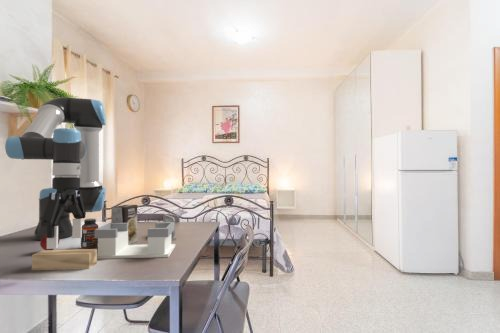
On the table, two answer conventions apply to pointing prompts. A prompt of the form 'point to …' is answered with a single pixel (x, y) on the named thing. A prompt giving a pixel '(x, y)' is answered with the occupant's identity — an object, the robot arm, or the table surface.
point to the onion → (45, 243)
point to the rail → (64, 259)
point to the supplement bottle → (89, 234)
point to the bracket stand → (116, 245)
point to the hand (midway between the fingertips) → (65, 242)
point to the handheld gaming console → (169, 219)
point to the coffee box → (126, 219)
